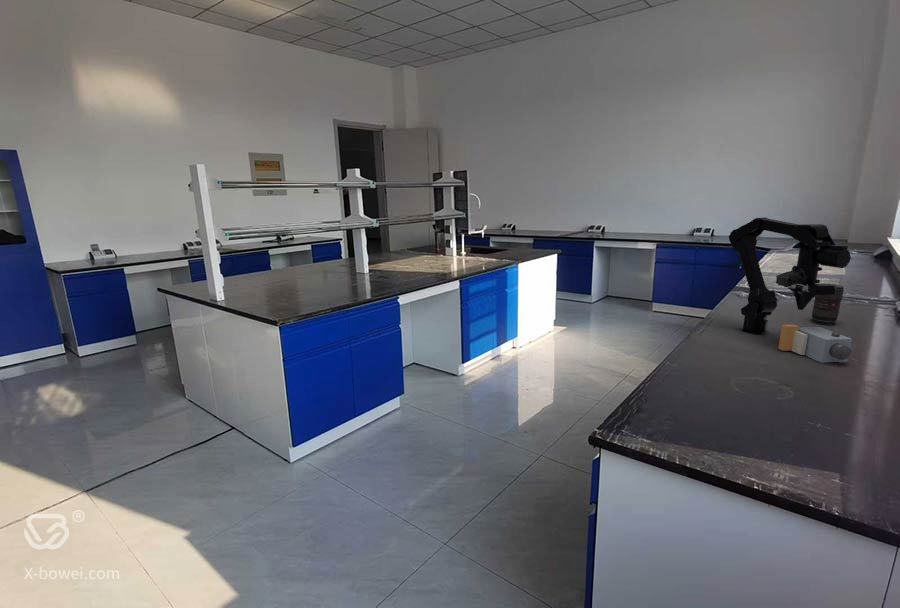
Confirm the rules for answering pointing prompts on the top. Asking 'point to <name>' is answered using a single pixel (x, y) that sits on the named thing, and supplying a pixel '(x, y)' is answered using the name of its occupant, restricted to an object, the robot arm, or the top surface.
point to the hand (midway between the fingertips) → (800, 309)
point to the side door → (792, 339)
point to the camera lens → (827, 307)
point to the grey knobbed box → (826, 345)
